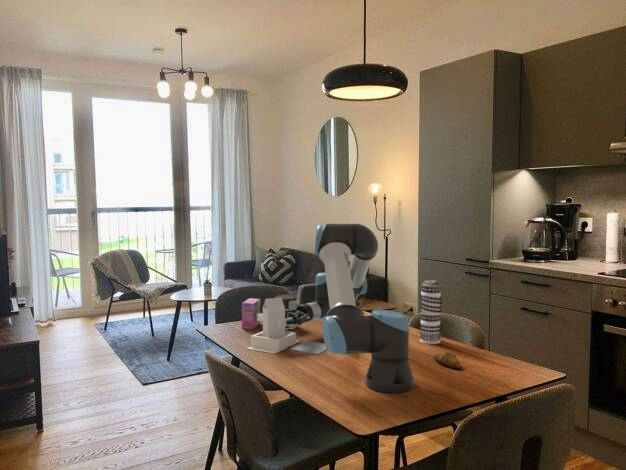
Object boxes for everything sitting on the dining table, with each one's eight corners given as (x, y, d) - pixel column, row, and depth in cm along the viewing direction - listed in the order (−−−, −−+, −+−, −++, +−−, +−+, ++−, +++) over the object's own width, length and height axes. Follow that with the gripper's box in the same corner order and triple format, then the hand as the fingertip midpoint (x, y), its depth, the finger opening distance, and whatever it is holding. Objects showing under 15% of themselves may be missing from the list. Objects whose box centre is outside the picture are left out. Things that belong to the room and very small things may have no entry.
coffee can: (277, 330, 233) (277, 299, 232) (272, 325, 243) (272, 295, 242) (300, 328, 236) (300, 297, 235) (294, 323, 246) (293, 293, 245)
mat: (318, 354, 198) (318, 353, 198) (288, 349, 205) (288, 348, 205) (333, 345, 210) (333, 345, 210) (305, 341, 216) (305, 340, 216)
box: (253, 329, 236) (253, 303, 235) (241, 328, 237) (241, 302, 236) (260, 323, 246) (260, 298, 245) (249, 323, 247) (248, 298, 246)
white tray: (274, 353, 199) (274, 342, 199) (246, 349, 206) (246, 337, 205) (300, 341, 216) (299, 330, 216) (273, 337, 222) (273, 326, 222)
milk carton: (285, 346, 209) (285, 299, 207) (268, 348, 206) (267, 300, 205) (279, 342, 216) (279, 296, 214) (262, 343, 213) (262, 297, 211)
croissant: (467, 369, 183) (467, 355, 182) (451, 372, 180) (452, 357, 179) (442, 358, 195) (443, 345, 195) (427, 360, 192) (428, 347, 192)
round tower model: (414, 340, 217) (414, 280, 215) (427, 336, 223) (428, 278, 221) (432, 345, 210) (433, 283, 208) (446, 341, 217) (447, 280, 215)
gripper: (328, 326, 214) (288, 336, 199) (288, 316, 232) (249, 324, 218) (328, 308, 213) (288, 316, 199) (288, 299, 231) (249, 306, 217)
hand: (268, 320), depth 208 cm, fingers open, 13 cm apart
